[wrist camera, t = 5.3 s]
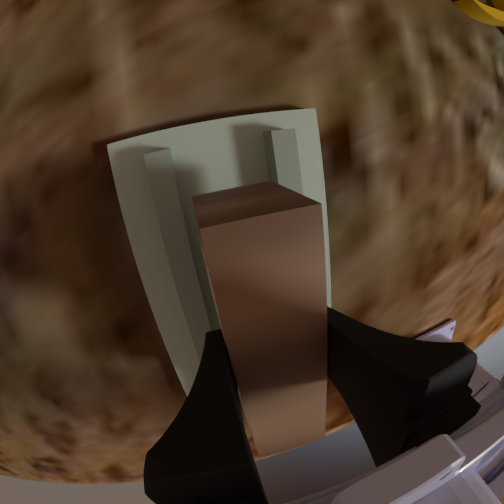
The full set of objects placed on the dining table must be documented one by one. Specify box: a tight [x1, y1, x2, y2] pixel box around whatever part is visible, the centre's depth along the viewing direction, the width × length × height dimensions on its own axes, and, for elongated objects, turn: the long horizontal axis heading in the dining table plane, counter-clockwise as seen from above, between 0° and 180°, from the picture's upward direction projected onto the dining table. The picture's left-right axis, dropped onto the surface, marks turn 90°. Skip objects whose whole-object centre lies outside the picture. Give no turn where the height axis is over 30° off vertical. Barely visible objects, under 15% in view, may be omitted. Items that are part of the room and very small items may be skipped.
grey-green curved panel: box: [107, 108, 331, 396], centre depth 17 cm, size 18×11×2 cm, turn 9°
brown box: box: [192, 181, 327, 458], centre depth 13 cm, size 12×4×5 cm, turn 9°
